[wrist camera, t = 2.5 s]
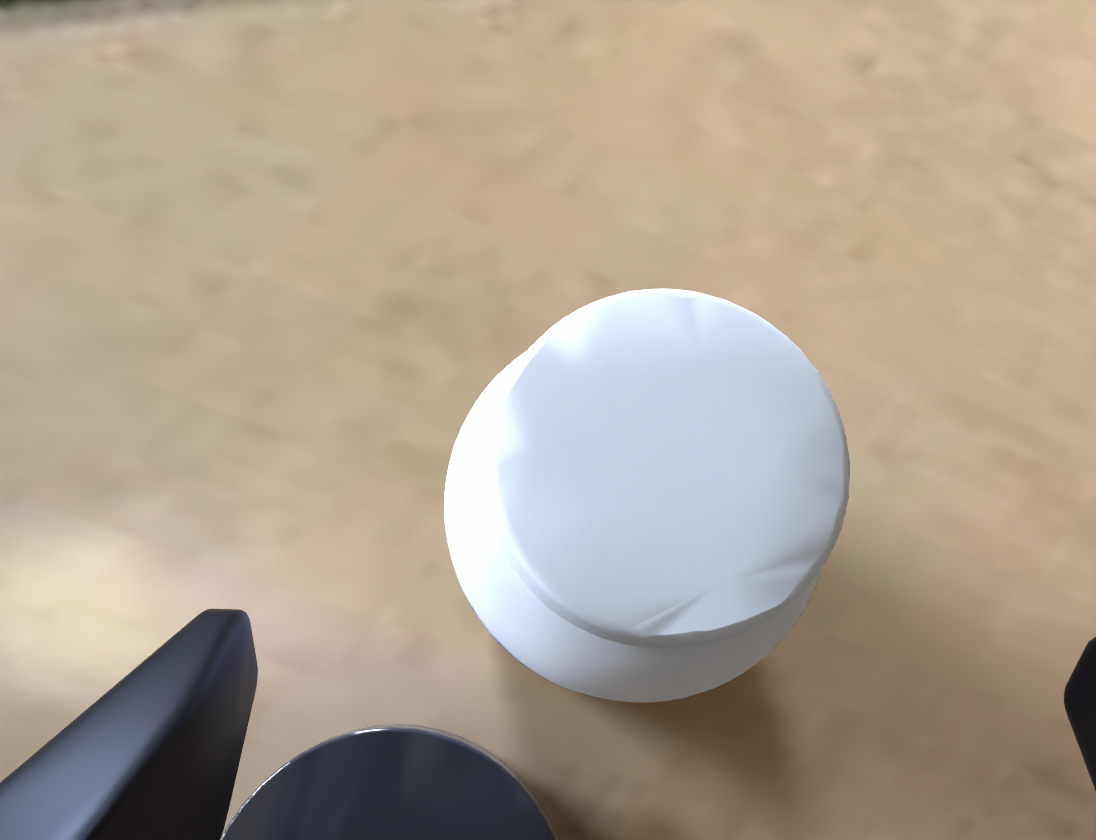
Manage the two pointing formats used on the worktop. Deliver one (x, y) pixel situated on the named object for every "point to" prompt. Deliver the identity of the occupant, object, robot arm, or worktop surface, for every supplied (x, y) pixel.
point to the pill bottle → (647, 496)
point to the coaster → (392, 792)
